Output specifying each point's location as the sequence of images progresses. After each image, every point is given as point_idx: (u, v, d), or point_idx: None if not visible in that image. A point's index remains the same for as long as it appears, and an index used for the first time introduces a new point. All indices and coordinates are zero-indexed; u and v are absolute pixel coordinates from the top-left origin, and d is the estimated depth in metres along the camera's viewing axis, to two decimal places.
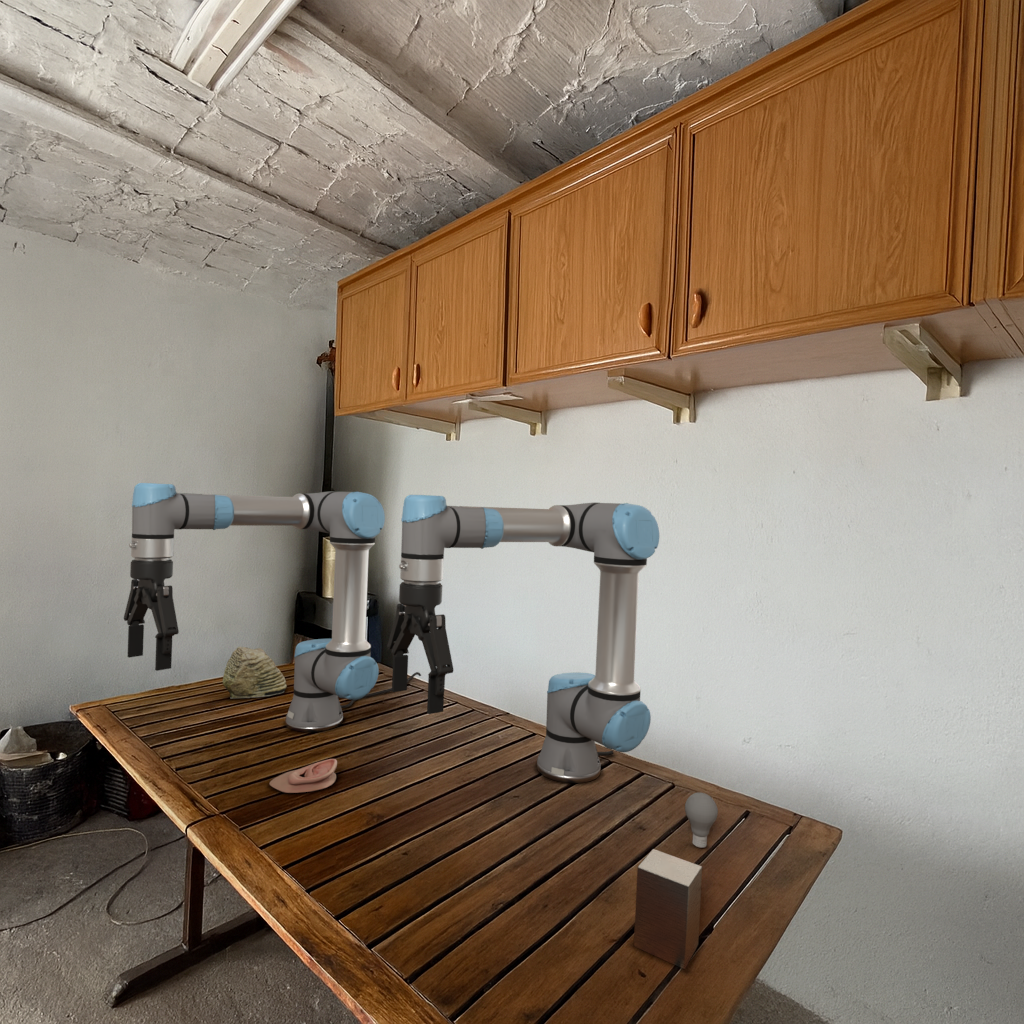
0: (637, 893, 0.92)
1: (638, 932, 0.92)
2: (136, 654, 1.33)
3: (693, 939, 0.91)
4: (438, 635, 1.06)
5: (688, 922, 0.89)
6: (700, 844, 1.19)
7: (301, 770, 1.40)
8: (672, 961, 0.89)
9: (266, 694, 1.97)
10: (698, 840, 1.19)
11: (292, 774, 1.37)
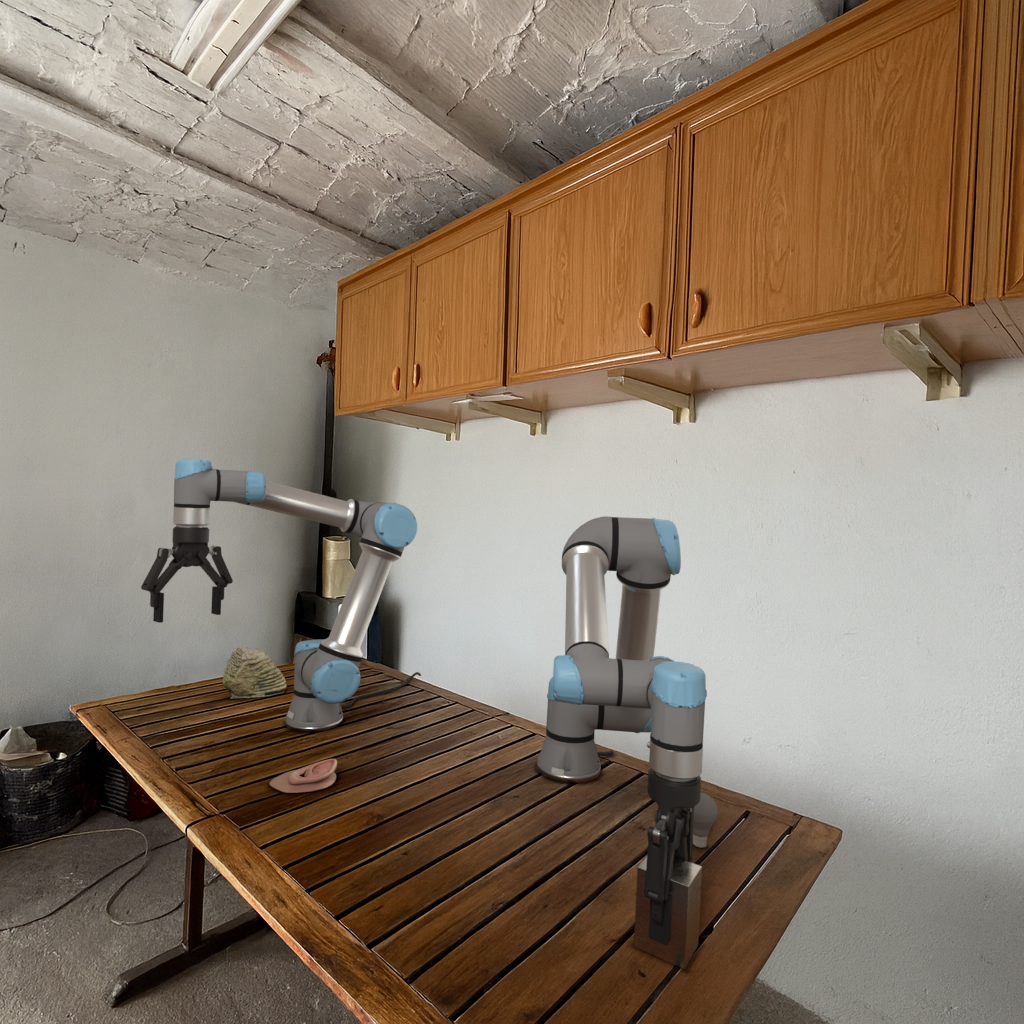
0: (637, 893, 0.92)
1: (638, 932, 0.92)
2: (214, 612, 1.52)
3: (693, 939, 0.91)
4: (653, 853, 0.88)
5: (688, 922, 0.89)
6: (700, 844, 1.19)
7: (301, 770, 1.40)
8: (672, 961, 0.89)
9: (266, 694, 1.97)
10: (698, 840, 1.19)
11: (292, 774, 1.37)
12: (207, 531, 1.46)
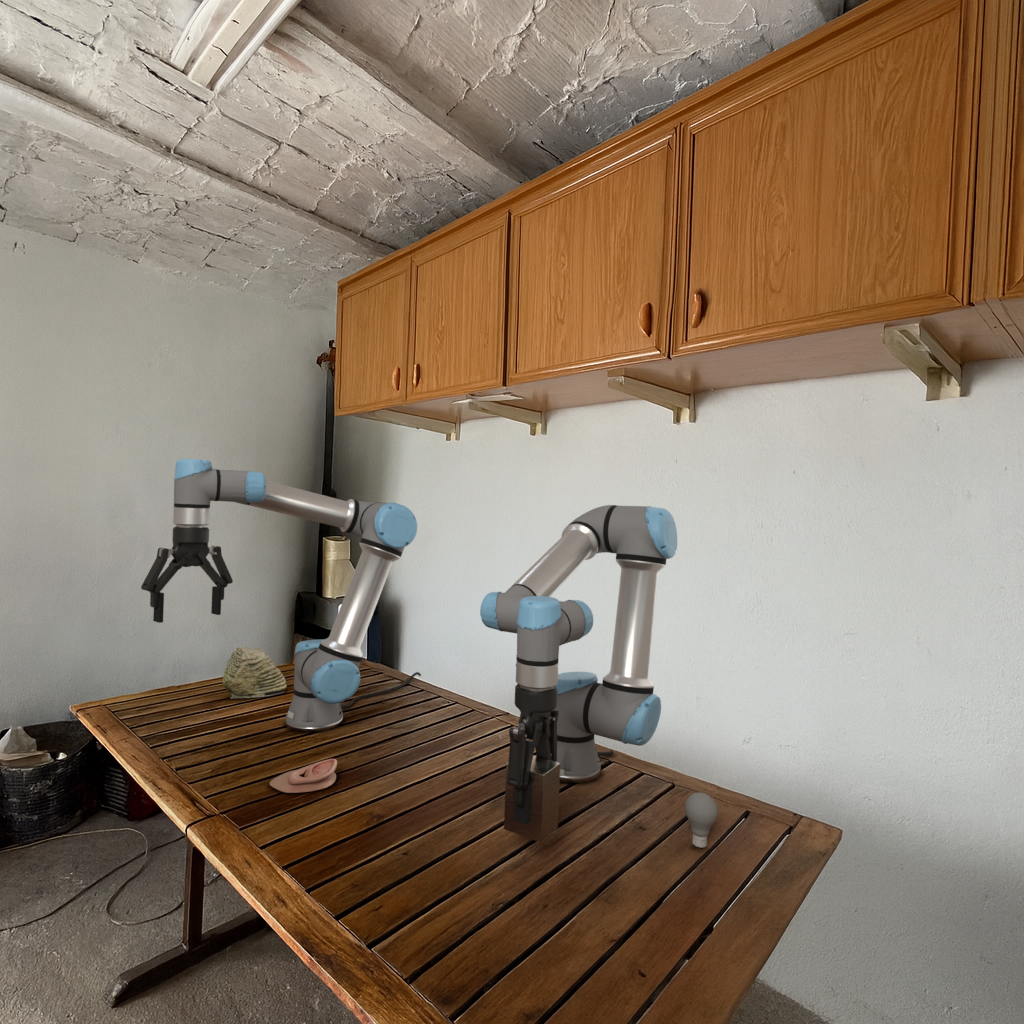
0: (506, 785, 1.12)
1: (507, 817, 1.12)
2: (214, 612, 1.52)
3: (551, 821, 1.11)
4: (513, 748, 1.07)
5: (544, 805, 1.09)
6: (700, 844, 1.19)
7: (301, 770, 1.40)
8: (532, 837, 1.09)
9: (266, 694, 1.97)
10: (698, 840, 1.19)
11: (292, 774, 1.37)
12: (207, 531, 1.46)
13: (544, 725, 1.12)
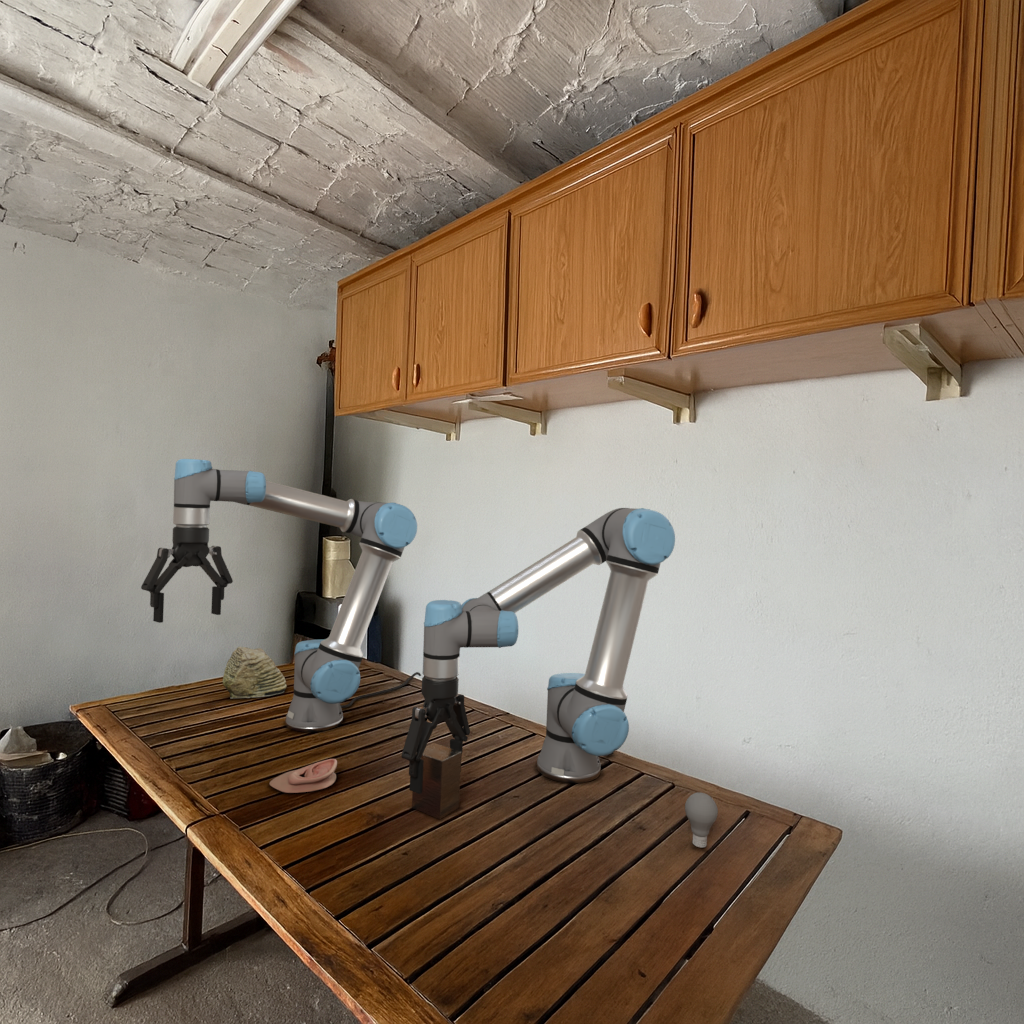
0: None
1: (414, 797, 1.30)
2: (214, 612, 1.52)
3: (451, 801, 1.29)
4: (413, 725, 1.25)
5: (443, 787, 1.27)
6: (700, 844, 1.19)
7: (301, 770, 1.40)
8: (433, 814, 1.27)
9: (266, 694, 1.97)
10: (698, 840, 1.19)
11: (292, 774, 1.37)
12: (207, 531, 1.46)
13: (448, 711, 1.31)
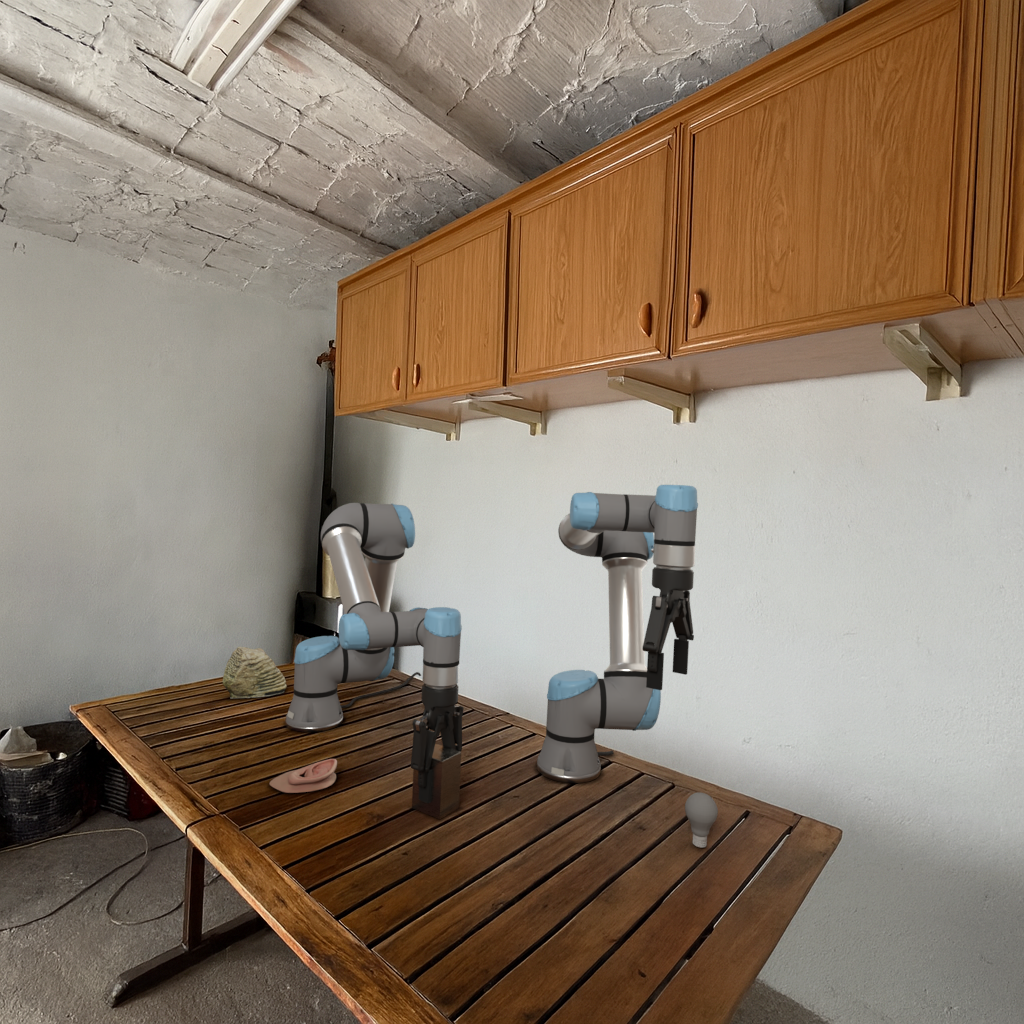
0: (413, 770, 1.30)
1: (414, 797, 1.30)
2: None
3: (451, 801, 1.29)
4: (654, 614, 1.12)
5: (443, 787, 1.27)
6: (700, 844, 1.19)
7: (301, 770, 1.40)
8: (433, 814, 1.27)
9: (266, 694, 1.97)
10: (698, 840, 1.19)
11: (292, 774, 1.37)
12: None
13: (681, 606, 1.19)
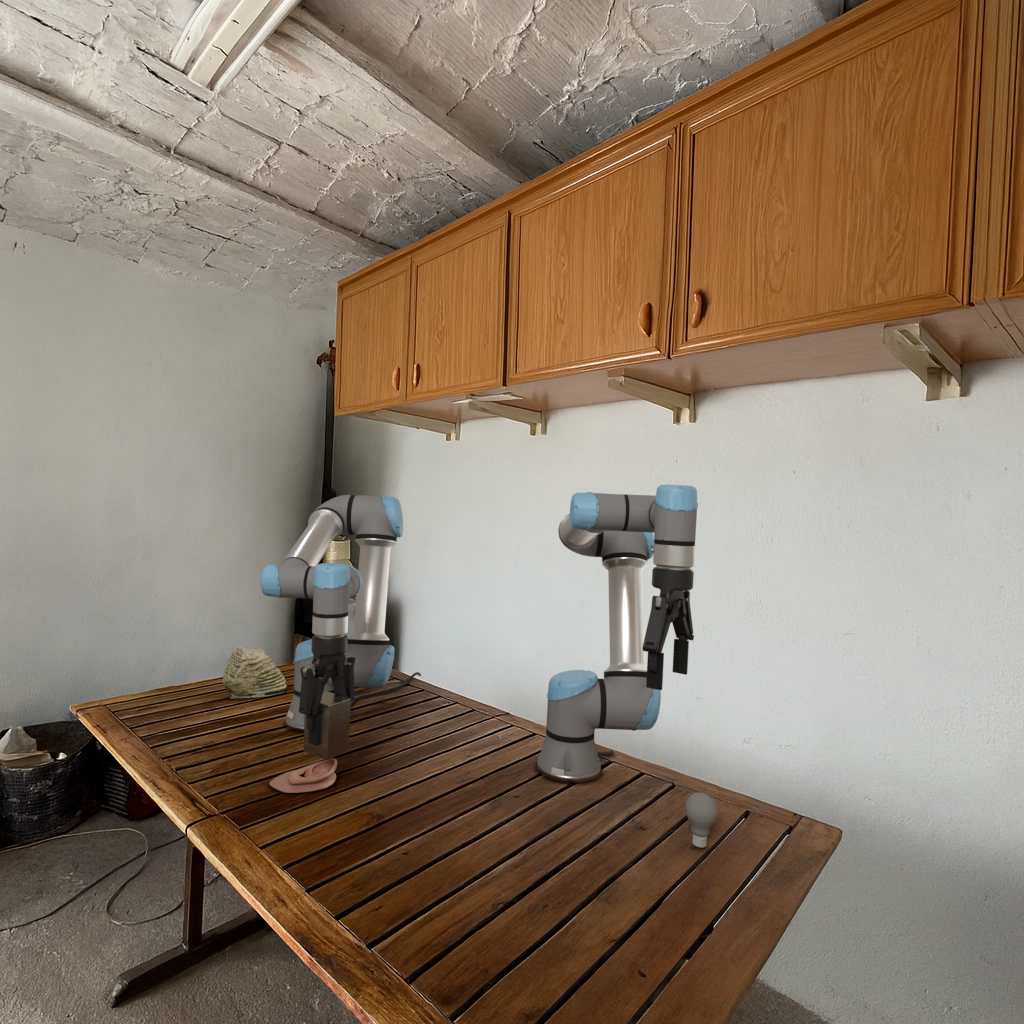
0: (305, 715, 1.38)
1: (305, 741, 1.38)
2: None
3: (340, 744, 1.37)
4: (654, 614, 1.12)
5: (330, 730, 1.35)
6: (700, 844, 1.19)
7: (301, 770, 1.40)
8: (321, 756, 1.35)
9: (266, 694, 1.97)
10: (698, 840, 1.19)
11: (292, 774, 1.37)
12: (347, 639, 1.38)
13: (681, 606, 1.19)
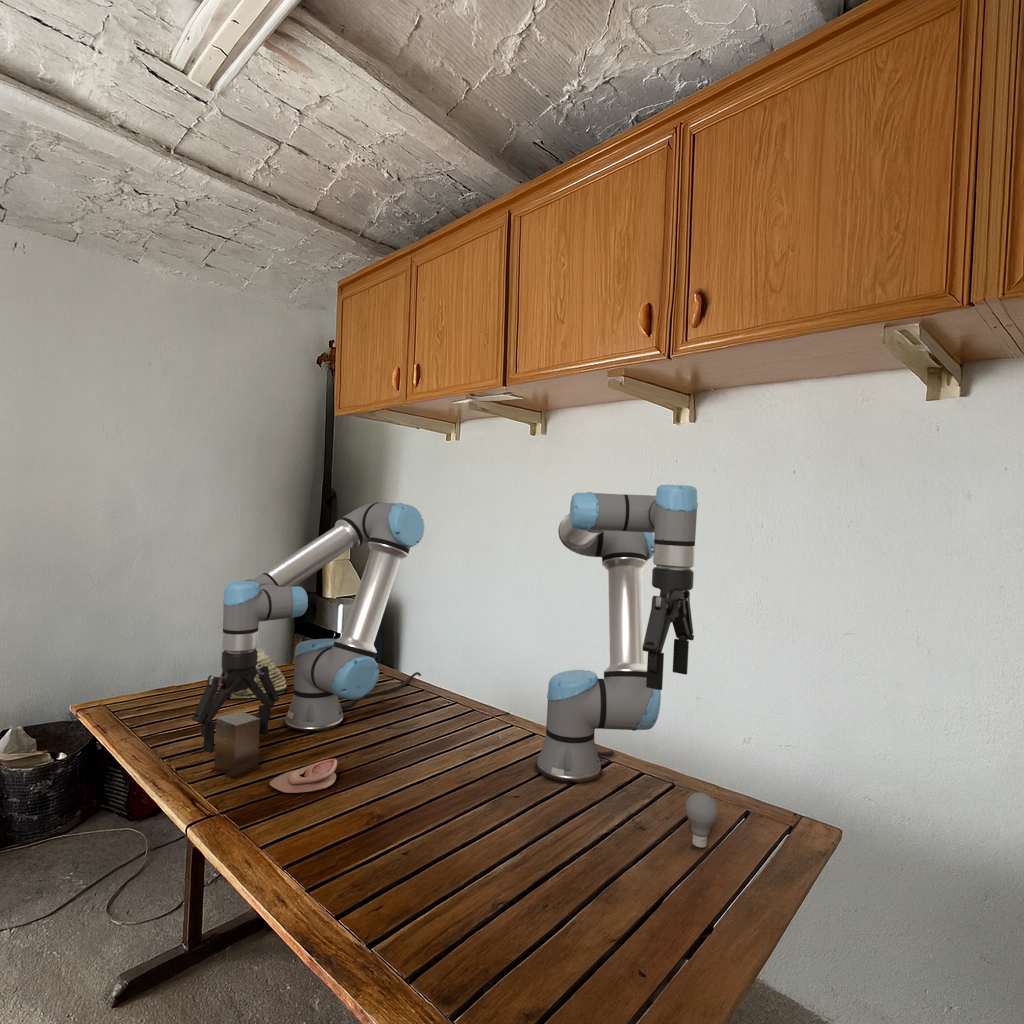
0: (216, 734, 1.45)
1: (216, 759, 1.45)
2: (261, 732, 1.50)
3: (248, 762, 1.44)
4: (654, 614, 1.12)
5: (237, 748, 1.41)
6: (700, 844, 1.19)
7: (301, 770, 1.40)
8: (229, 774, 1.42)
9: (266, 694, 1.97)
10: (698, 840, 1.19)
11: (292, 774, 1.37)
12: (256, 654, 1.45)
13: (681, 606, 1.19)
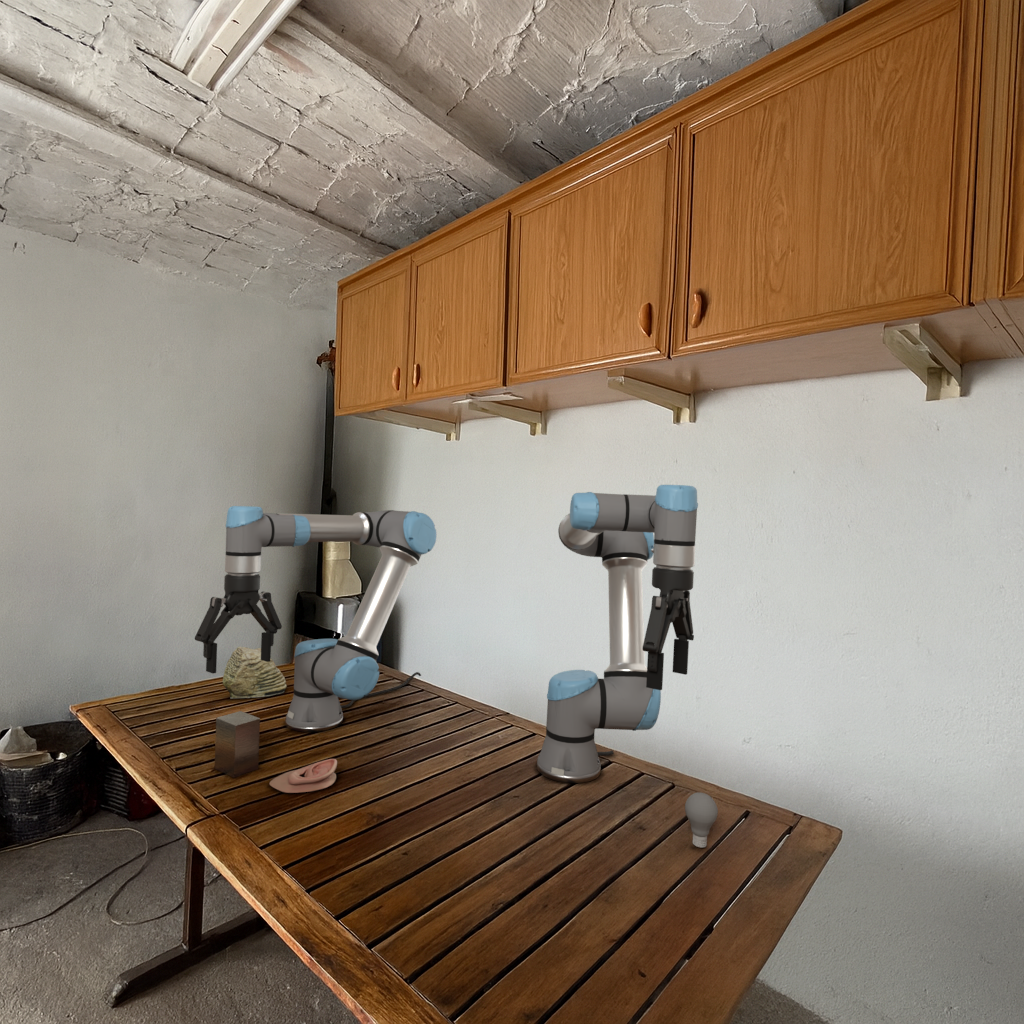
0: (216, 734, 1.45)
1: (216, 759, 1.45)
2: (264, 659, 1.50)
3: (248, 762, 1.44)
4: (654, 614, 1.12)
5: (237, 748, 1.41)
6: (700, 844, 1.19)
7: (301, 770, 1.40)
8: (229, 774, 1.42)
9: (266, 694, 1.97)
10: (698, 840, 1.19)
11: (292, 774, 1.37)
12: (258, 578, 1.45)
13: (681, 606, 1.19)
